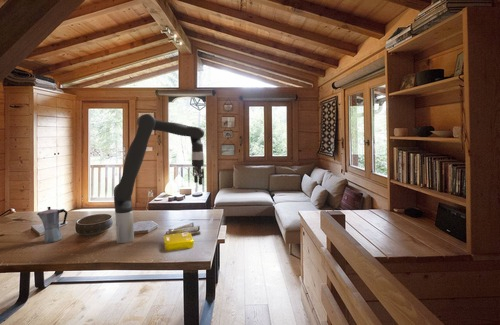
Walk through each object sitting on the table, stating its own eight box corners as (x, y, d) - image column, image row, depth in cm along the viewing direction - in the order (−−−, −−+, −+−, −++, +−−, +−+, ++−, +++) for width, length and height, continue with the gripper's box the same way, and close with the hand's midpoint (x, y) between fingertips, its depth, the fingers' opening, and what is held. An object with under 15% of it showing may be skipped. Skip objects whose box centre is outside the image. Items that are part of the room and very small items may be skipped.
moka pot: (41, 239, 166) (38, 205, 164) (71, 235, 171) (69, 203, 169) (35, 244, 157) (32, 209, 155) (67, 241, 162) (65, 207, 160)
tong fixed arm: (169, 235, 165) (169, 231, 165) (168, 233, 169) (167, 229, 169) (200, 230, 174) (199, 226, 174) (197, 228, 178) (197, 224, 178)
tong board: (170, 239, 163) (170, 237, 163) (166, 233, 173) (165, 231, 173) (200, 234, 172) (200, 231, 172) (194, 228, 182) (194, 226, 182)
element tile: (163, 242, 161) (163, 234, 160) (190, 238, 166) (189, 230, 165) (165, 252, 147) (165, 243, 146) (194, 248, 152) (194, 239, 151)
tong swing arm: (175, 232, 170) (175, 229, 170) (173, 232, 171) (173, 228, 170) (194, 226, 181) (193, 223, 181) (192, 226, 182) (192, 222, 182)
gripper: (188, 158, 185) (189, 182, 187) (195, 159, 173) (196, 185, 174) (199, 157, 189) (200, 181, 190) (207, 159, 177) (207, 184, 178)
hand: (198, 183), depth 182 cm, fingers open, 8 cm apart
